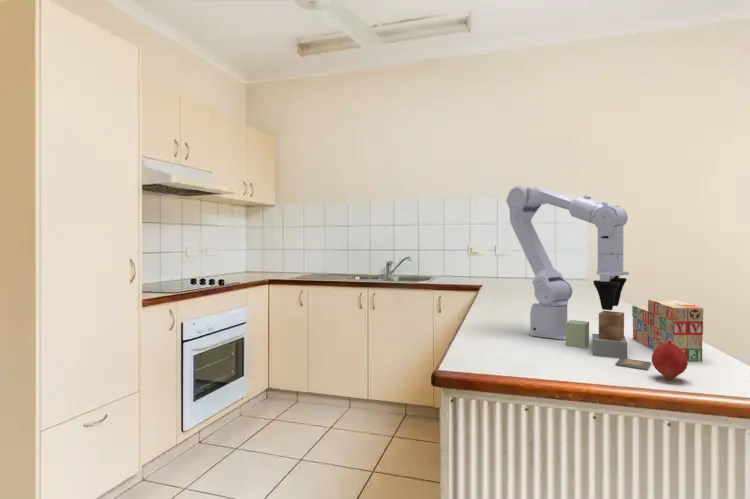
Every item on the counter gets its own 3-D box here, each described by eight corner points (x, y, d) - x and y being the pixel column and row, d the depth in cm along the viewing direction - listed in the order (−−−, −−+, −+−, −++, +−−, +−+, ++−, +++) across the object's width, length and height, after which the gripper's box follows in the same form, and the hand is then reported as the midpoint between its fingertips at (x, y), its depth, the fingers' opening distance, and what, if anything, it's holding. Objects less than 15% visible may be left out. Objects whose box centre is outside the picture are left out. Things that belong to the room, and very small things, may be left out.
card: (615, 365, 94) (615, 363, 94) (620, 359, 99) (620, 357, 99) (647, 370, 90) (647, 368, 90) (651, 363, 95) (651, 361, 95)
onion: (644, 375, 87) (644, 335, 87) (671, 374, 88) (671, 334, 88) (666, 384, 82) (666, 342, 81) (695, 383, 82) (695, 341, 82)
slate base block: (592, 356, 102) (592, 339, 102) (592, 349, 108) (592, 333, 108) (627, 359, 99) (627, 342, 99) (624, 352, 105) (624, 336, 105)
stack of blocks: (631, 339, 118) (632, 294, 118) (657, 339, 117) (657, 294, 117) (672, 361, 97) (672, 306, 97) (703, 362, 96) (703, 307, 96)
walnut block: (598, 338, 103) (598, 313, 103) (603, 335, 107) (603, 310, 107) (620, 341, 100) (620, 315, 100) (623, 337, 104) (624, 312, 104)
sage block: (565, 345, 112) (565, 322, 111) (570, 342, 115) (570, 319, 115) (584, 348, 109) (584, 324, 109) (589, 344, 112) (589, 321, 112)
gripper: (623, 255, 101) (623, 313, 101) (633, 253, 112) (633, 305, 113) (590, 254, 105) (590, 310, 106) (603, 252, 117) (602, 303, 117)
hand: (610, 307), depth 110 cm, fingers open, 7 cm apart
